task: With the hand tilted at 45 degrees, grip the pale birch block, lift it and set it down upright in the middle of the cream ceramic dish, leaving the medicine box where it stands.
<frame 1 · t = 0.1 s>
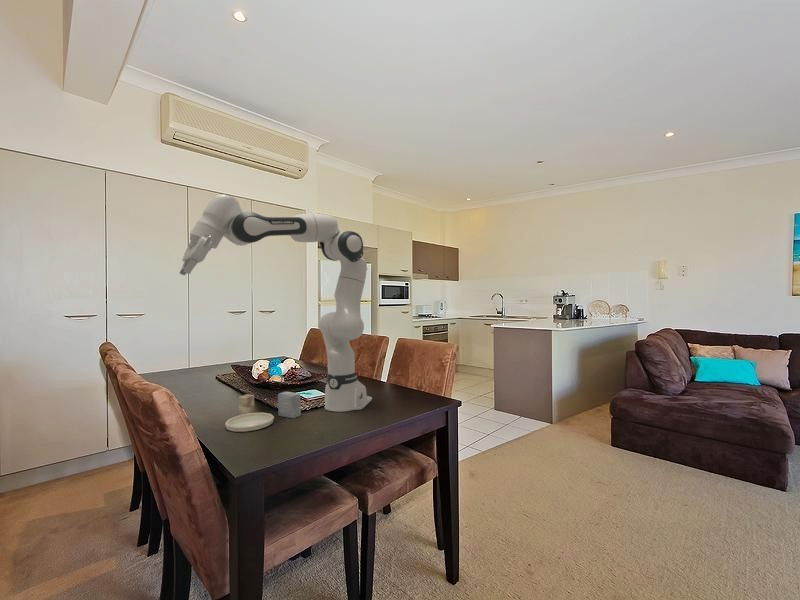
hand: (184, 273, 123), 54 cm above the table, tool tilted 30°, fingers open, 8 cm apart
dish: (250, 424, 139), on the table
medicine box: (289, 416, 148), on the table
birch block: (246, 413, 152), on the table
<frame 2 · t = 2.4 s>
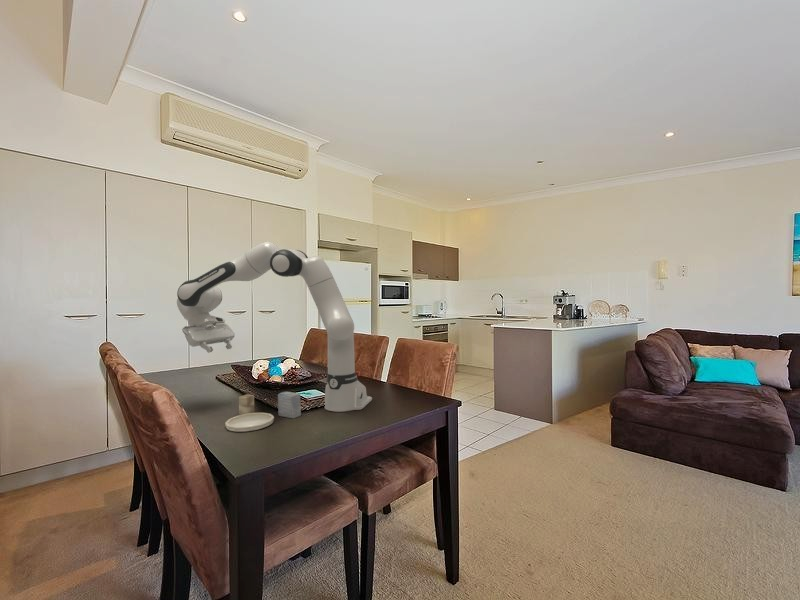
hand: (220, 349, 156), 25 cm above the table, tool tilted 45°, fingers open, 8 cm apart
nothing on the table moved.
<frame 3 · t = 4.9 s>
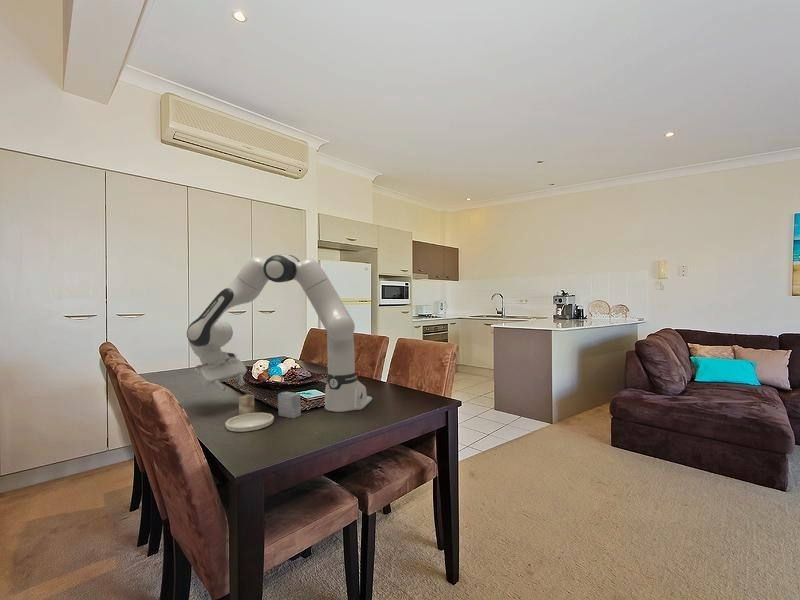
hand: (233, 387, 155), 10 cm above the table, tool tilted 45°, fingers open, 8 cm apart
nothing on the table moved.
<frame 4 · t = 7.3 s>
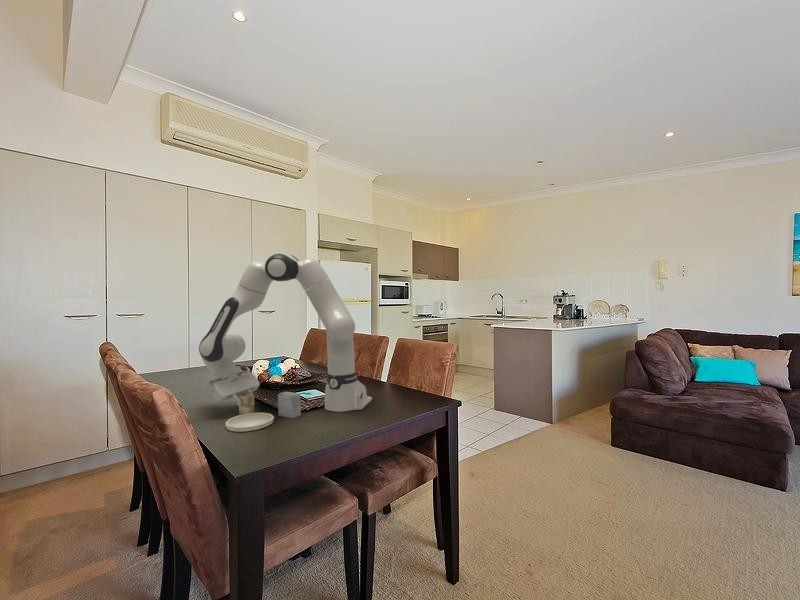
hand: (246, 402, 152), 4 cm above the table, tool tilted 45°, fingers closed on birch block, 4 cm apart
birch block: (246, 413, 152), on the table, touching gripper
everything else where it was.
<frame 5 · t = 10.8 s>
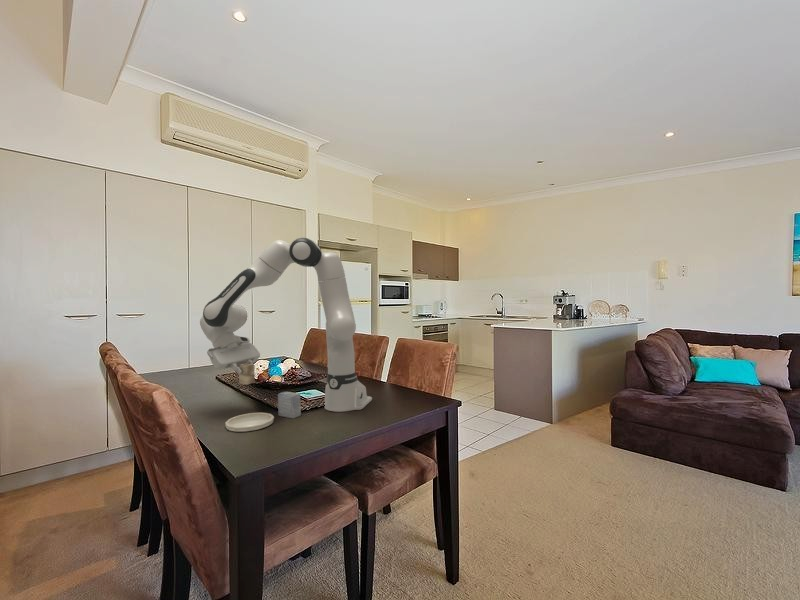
hand: (246, 371, 149), 17 cm above the table, tool tilted 45°, fingers closed on birch block, 4 cm apart
birch block: (247, 382, 149), point 13 cm above the table, touching gripper
everything else where it was.
when the fingers open (7 cm above the table, at t = 14.5 s): birch block drops 1 cm, resting on dish.
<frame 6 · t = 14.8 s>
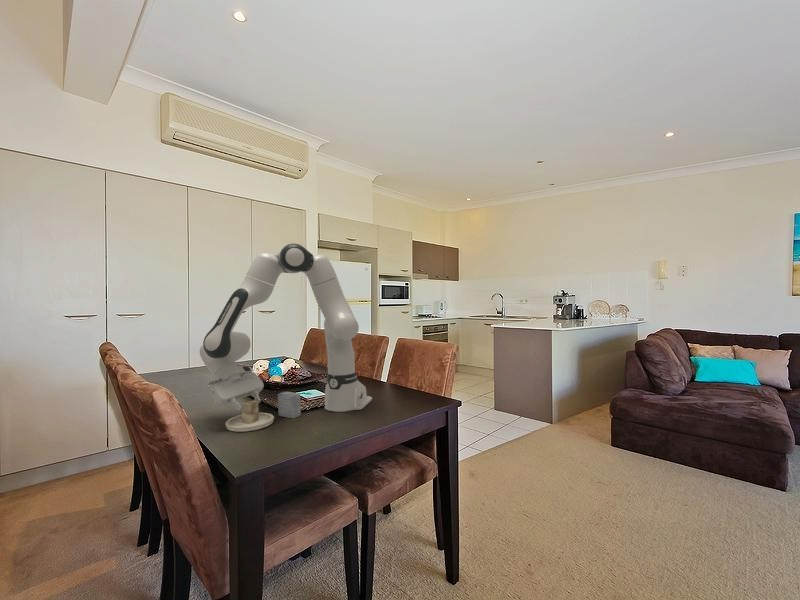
hand: (250, 405, 139), 7 cm above the table, tool tilted 45°, fingers open, 7 cm apart
birch block: (250, 421, 139), point 1 cm above the table, touching dish
everything else where it was.
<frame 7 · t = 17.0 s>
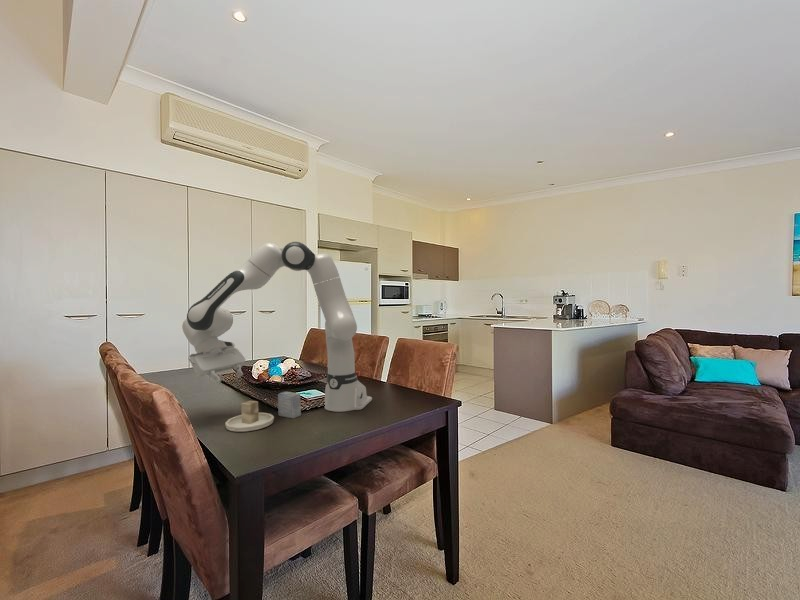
hand: (230, 378, 143), 16 cm above the table, tool tilted 45°, fingers open, 8 cm apart
nothing on the table moved.
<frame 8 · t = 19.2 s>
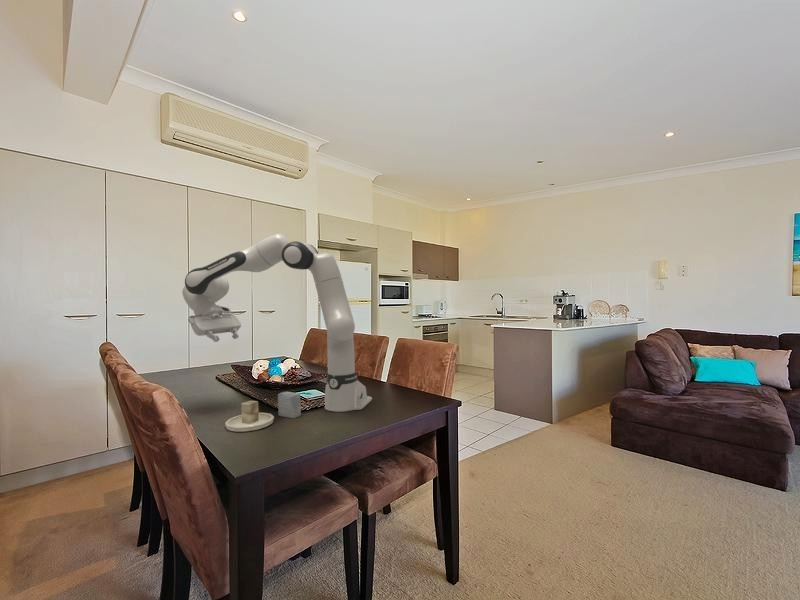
hand: (227, 339, 154), 29 cm above the table, tool tilted 45°, fingers open, 8 cm apart
nothing on the table moved.
at the end: birch block 0.1 cm off-centre on the dish, point 1.0 cm above the dish's base; birch block tilted 0°; the gripper is holding nothing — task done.
